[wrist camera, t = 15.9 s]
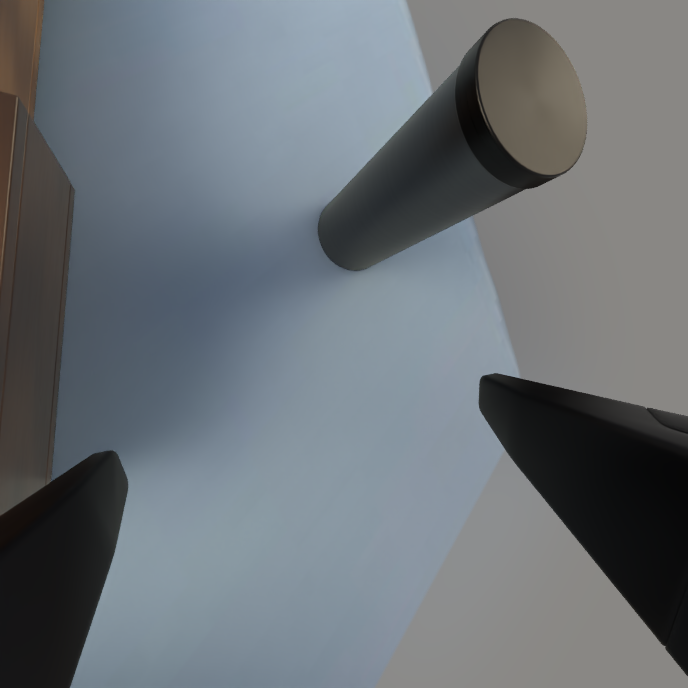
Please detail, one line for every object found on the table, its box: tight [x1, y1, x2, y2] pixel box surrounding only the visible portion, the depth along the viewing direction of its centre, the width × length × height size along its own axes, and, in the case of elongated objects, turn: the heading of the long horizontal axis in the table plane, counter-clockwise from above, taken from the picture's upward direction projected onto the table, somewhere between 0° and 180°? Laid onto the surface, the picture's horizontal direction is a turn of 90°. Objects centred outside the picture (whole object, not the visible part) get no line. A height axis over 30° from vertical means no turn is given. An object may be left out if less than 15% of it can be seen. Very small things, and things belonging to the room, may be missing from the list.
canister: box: [318, 18, 587, 271], centre depth 17 cm, size 5×5×13 cm
